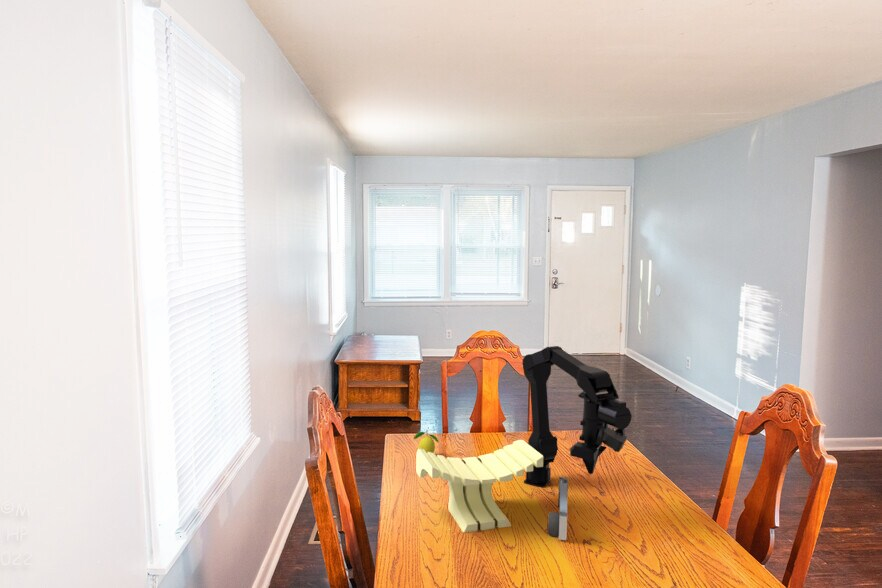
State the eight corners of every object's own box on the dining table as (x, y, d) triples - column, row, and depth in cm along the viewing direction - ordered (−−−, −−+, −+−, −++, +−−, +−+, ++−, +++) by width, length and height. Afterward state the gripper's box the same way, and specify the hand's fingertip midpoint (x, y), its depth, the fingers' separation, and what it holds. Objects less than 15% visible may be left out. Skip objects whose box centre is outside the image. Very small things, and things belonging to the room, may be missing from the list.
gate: (559, 507, 156) (560, 482, 156) (565, 507, 156) (566, 483, 155) (558, 539, 139) (559, 511, 138) (566, 540, 139) (567, 512, 138)
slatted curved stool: (516, 496, 164) (518, 436, 162) (541, 522, 149) (543, 456, 147) (415, 508, 155) (416, 444, 154) (431, 537, 140) (432, 467, 139)
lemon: (413, 458, 191) (413, 429, 190) (422, 453, 196) (423, 425, 195) (429, 462, 188) (430, 433, 187) (439, 457, 193) (439, 428, 192)
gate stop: (546, 534, 142) (546, 515, 142) (550, 529, 145) (550, 510, 144) (557, 538, 141) (558, 518, 140) (561, 532, 143) (562, 513, 143)
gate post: (556, 507, 157) (557, 479, 157) (559, 503, 159) (560, 476, 159) (565, 509, 156) (566, 481, 155) (568, 506, 158) (569, 478, 157)
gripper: (614, 433, 140) (610, 494, 141) (633, 414, 155) (629, 469, 157) (571, 424, 145) (567, 482, 147) (593, 406, 161) (590, 459, 163)
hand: (590, 473), depth 153 cm, fingers closed
